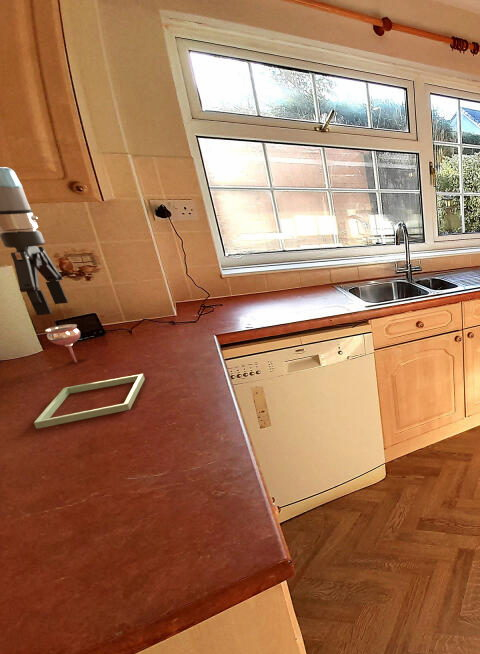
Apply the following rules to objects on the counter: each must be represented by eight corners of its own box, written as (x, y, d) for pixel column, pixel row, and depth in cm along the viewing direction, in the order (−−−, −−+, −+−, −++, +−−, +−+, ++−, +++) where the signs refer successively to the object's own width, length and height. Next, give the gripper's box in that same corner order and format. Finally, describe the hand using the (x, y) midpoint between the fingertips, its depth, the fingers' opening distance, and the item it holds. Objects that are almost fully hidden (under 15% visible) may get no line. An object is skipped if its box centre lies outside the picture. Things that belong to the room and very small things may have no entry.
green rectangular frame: (39, 434, 91) (33, 422, 90) (68, 397, 107) (63, 387, 106) (131, 414, 99) (127, 403, 97) (146, 383, 114) (143, 373, 113)
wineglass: (74, 371, 122) (57, 332, 118) (55, 370, 123) (37, 331, 119) (99, 362, 128) (83, 324, 124) (80, 361, 129) (64, 323, 125)
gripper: (19, 233, 103) (56, 317, 111) (55, 226, 123) (84, 297, 131) (-26, 236, 99) (15, 322, 107) (19, 228, 119) (51, 301, 127)
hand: (53, 308), depth 119 cm, fingers open, 13 cm apart
